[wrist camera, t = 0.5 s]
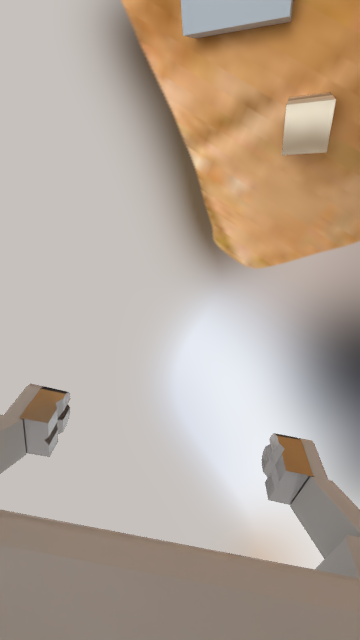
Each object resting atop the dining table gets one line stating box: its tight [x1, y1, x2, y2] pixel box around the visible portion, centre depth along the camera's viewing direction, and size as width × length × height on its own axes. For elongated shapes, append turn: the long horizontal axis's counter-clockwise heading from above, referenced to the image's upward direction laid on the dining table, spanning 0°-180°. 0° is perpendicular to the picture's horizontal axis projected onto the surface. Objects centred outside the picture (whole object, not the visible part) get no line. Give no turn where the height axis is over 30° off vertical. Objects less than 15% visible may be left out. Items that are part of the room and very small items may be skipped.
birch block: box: [282, 92, 336, 155], centre depth 37 cm, size 5×5×10 cm
